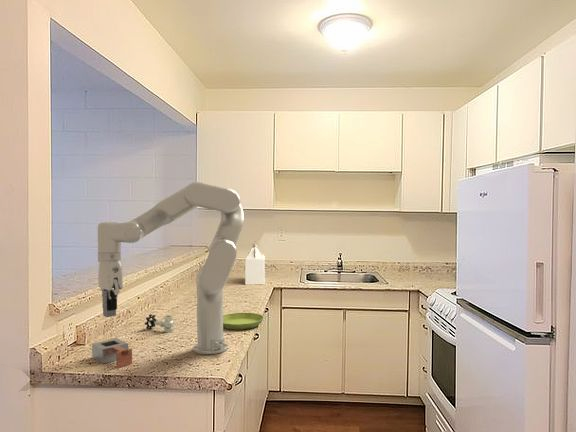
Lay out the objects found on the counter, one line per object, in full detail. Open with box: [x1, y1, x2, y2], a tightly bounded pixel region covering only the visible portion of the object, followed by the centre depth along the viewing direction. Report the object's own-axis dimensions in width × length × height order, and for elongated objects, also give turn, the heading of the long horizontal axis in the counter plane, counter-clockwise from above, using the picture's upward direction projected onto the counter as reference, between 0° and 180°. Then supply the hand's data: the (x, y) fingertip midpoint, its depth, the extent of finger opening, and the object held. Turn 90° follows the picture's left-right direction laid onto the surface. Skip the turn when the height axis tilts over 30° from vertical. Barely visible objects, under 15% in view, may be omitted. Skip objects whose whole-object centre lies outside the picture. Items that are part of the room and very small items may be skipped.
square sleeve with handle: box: [91, 337, 133, 368], centre depth 155 cm, size 16×9×5 cm, turn 45°
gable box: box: [244, 241, 266, 285], centre depth 312 cm, size 22×13×28 cm, turn 3°
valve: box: [144, 314, 174, 334], centre depth 191 cm, size 7×7×12 cm
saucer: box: [223, 312, 265, 330], centre depth 201 cm, size 21×21×3 cm
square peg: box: [102, 288, 117, 318], centre depth 157 cm, size 3×3×9 cm
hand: (109, 308), depth 157 cm, fingers closed on square peg, 3 cm apart
